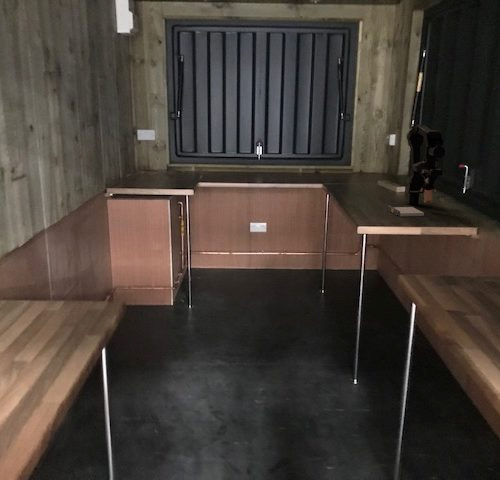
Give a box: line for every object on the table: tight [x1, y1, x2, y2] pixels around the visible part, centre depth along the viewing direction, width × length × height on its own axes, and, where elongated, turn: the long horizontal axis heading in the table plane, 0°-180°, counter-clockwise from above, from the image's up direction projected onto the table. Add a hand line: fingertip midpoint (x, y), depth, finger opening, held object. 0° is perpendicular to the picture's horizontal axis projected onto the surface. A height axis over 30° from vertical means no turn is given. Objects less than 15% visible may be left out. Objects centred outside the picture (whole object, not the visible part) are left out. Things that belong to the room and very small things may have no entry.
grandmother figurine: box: [420, 178, 437, 203], centre depth 257 cm, size 8×4×13 cm, turn 92°
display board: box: [387, 205, 425, 217], centre depth 256 cm, size 15×13×2 cm
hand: (428, 187), depth 256 cm, fingers closed on grandmother figurine, 3 cm apart
